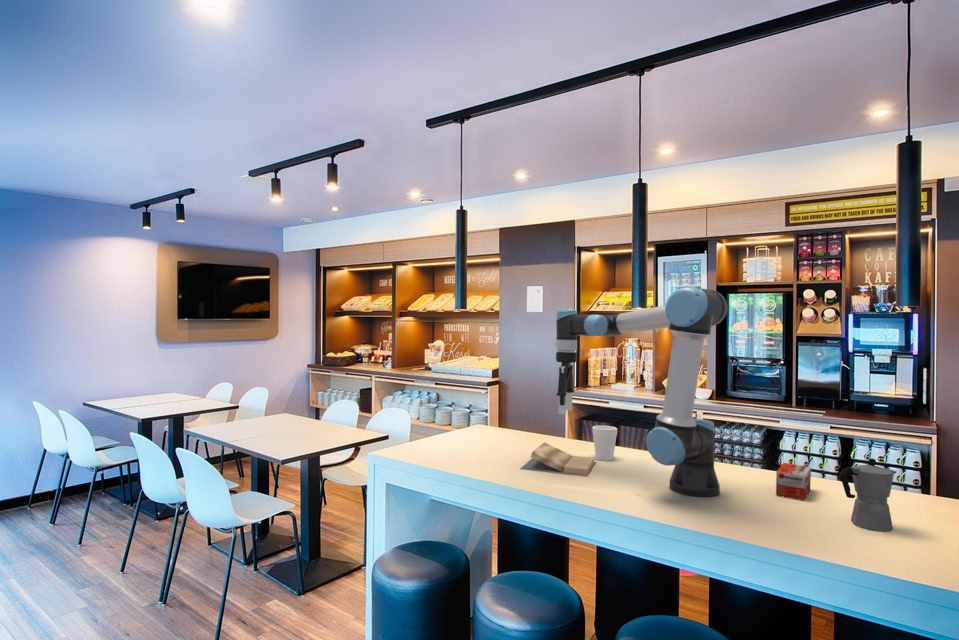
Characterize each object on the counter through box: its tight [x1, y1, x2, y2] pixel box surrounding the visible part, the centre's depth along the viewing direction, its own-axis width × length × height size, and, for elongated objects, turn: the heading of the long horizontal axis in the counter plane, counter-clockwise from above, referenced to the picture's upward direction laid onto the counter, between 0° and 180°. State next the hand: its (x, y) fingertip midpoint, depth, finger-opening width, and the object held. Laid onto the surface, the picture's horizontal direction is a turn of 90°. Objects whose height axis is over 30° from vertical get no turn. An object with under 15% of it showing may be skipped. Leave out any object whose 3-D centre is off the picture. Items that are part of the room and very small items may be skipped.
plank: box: [530, 441, 574, 472], centre depth 202 cm, size 12×18×2 cm, turn 160°
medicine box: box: [775, 462, 812, 502], centre depth 176 cm, size 15×8×8 cm, turn 143°
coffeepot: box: [839, 457, 897, 533], centre depth 147 cm, size 15×9×18 cm, turn 93°
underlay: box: [519, 455, 597, 477], centre depth 201 cm, size 24×22×3 cm
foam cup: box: [591, 425, 618, 462], centre depth 213 cm, size 10×9×13 cm
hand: (565, 412), depth 200 cm, fingers open, 10 cm apart
